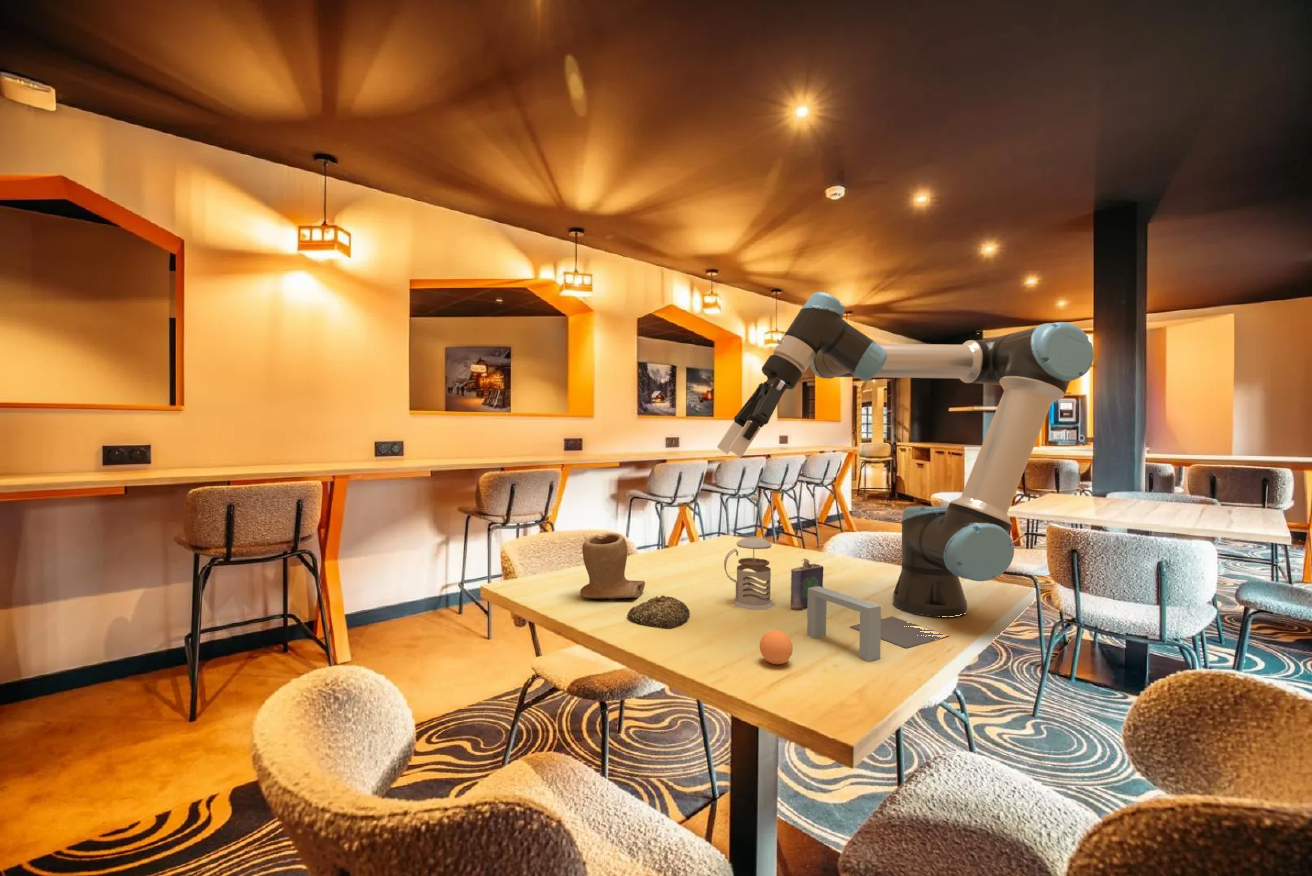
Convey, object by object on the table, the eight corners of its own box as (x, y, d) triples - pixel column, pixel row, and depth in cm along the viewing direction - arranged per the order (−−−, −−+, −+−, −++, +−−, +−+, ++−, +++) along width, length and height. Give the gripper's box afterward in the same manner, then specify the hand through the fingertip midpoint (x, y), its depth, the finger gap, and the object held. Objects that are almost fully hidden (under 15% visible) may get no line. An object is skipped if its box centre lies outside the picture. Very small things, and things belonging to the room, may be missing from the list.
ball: (777, 654, 100) (777, 623, 100) (799, 665, 96) (799, 633, 96) (752, 660, 98) (753, 628, 98) (774, 672, 93) (775, 638, 93)
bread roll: (669, 633, 111) (669, 608, 111) (619, 621, 118) (619, 597, 118) (701, 616, 122) (701, 593, 122) (653, 606, 129) (654, 584, 129)
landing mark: (891, 617, 121) (891, 616, 121) (949, 636, 110) (949, 635, 110) (849, 627, 115) (849, 626, 115) (906, 648, 104) (906, 647, 104)
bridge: (818, 632, 112) (818, 586, 112) (880, 658, 99) (881, 605, 99) (807, 635, 110) (807, 588, 110) (868, 661, 98) (869, 608, 97)
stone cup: (575, 604, 129) (576, 538, 128) (584, 590, 140) (584, 529, 140) (642, 606, 128) (642, 539, 128) (645, 591, 140) (645, 530, 140)
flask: (796, 611, 125) (796, 562, 125) (786, 607, 128) (787, 560, 128) (825, 605, 130) (826, 558, 130) (815, 602, 132) (816, 556, 132)
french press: (778, 610, 126) (780, 497, 125) (726, 609, 126) (727, 497, 126) (770, 597, 136) (771, 493, 135) (721, 596, 136) (723, 492, 135)
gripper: (757, 360, 125) (703, 440, 125) (790, 343, 100) (723, 442, 100) (784, 379, 126) (731, 459, 125) (824, 367, 101) (758, 466, 100)
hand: (727, 452), depth 113 cm, fingers open, 13 cm apart
